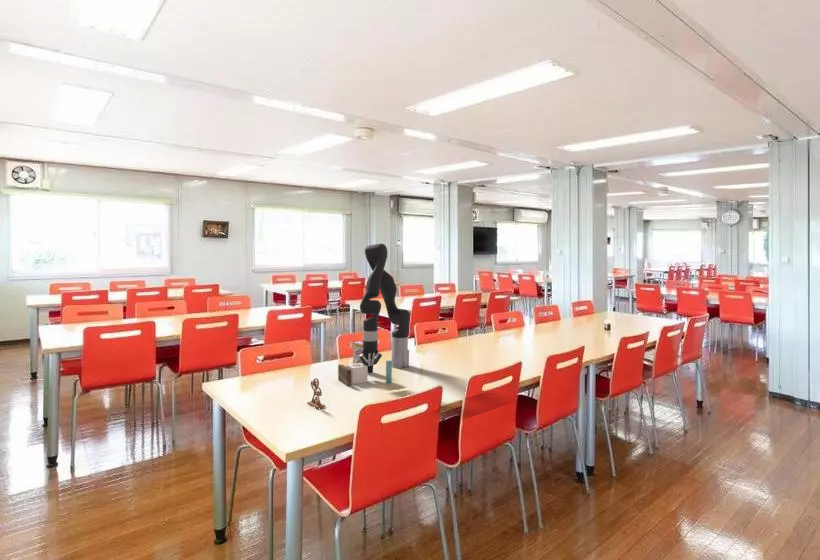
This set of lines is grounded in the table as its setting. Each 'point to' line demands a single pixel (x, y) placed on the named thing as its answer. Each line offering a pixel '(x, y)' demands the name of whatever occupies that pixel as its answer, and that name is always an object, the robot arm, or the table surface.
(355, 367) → the socket block
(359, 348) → the candy bar box
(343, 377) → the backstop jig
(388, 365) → the teal dowel
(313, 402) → the brown carved figurine
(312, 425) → the table surface
